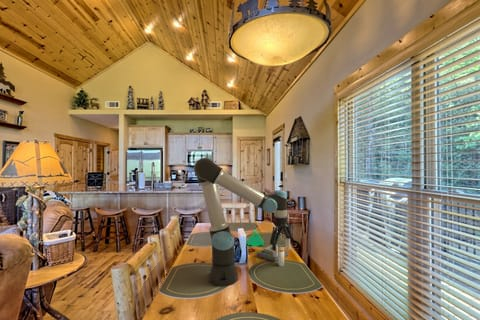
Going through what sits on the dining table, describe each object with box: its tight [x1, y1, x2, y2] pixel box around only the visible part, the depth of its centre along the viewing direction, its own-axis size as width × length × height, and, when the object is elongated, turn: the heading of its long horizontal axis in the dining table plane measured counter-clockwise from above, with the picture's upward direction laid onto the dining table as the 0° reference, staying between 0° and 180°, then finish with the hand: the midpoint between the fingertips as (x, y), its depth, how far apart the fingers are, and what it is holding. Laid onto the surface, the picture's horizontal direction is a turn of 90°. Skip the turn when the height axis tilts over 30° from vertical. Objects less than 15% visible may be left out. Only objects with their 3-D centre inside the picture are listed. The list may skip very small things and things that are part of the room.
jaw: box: [277, 246, 285, 267], centre depth 151 cm, size 4×4×10 cm
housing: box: [256, 245, 288, 263], centre depth 165 cm, size 14×14×5 cm
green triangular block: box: [246, 230, 265, 247], centre depth 188 cm, size 12×8×10 cm, turn 90°
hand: (281, 252), depth 151 cm, fingers open, 13 cm apart
